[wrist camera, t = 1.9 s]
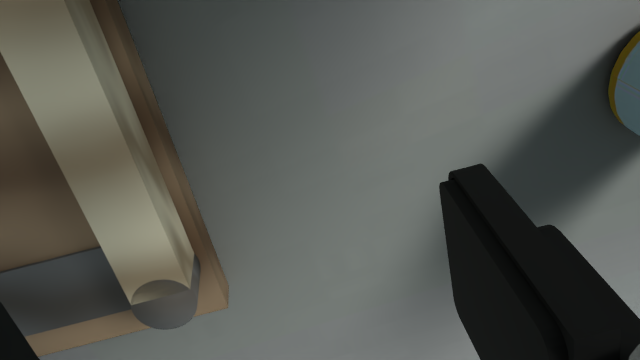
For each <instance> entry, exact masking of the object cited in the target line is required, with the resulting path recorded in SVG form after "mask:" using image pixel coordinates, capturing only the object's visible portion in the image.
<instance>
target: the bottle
mask: <svg viewBox="0 0 640 360" xmlns="http://www.w3.org/2000/svg"><path fill="white" fill-rule="evenodd" d="M608 95H609V101H610V107H611V110H612V111H613V113H614V115H615V116H616V118H617V120H618V121H619V122H620V123H622V124H623V125H625V126H626V127H627V128H628V129H630V130H631V131H633V132H634V133H636V134H637V135H639V136H640V31H639V32H638V33H637V34H636V35H635V36H634V37H633V38H632V39H631V40H630V42H629V43H628V44H627V45H626V47H625V48H624V49H623V50H622V52H621V53H620V55H619V57H618V59H617V61H616V63H615V65H614V68H613V70H612V73H611V77H610V82H609V88H608Z"/></svg>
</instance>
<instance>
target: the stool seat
mask: <svg viewBox="0 0 640 360" xmlns="http://www.w3.org/2000/svg"><path fill="white" fill-rule="evenodd" d="M89 1H90V3H91V5H92V8H93V10H94V13H95V15H96V18H97V20H98V22H99V25H100V27H101V30H102V32H103V34H104V37H105V39H106V42H107V44H108V46H109V49H110V51H111V54H112V56H113V59H114V61H115V63H116V66H117V68H118V71H119V73H120V75H121V78H122V80H123V83H124V85H125V87H126V90H127V92H128V95H129V97H130V100H131V102H132V104H133V107H134V109H135V112H136V114H137V116H138V119H139V121H140V124H141V126H142V129H143V131H144V133H145V136H146V138H147V141H148V143H149V145H150V148H151V150H152V153H153V155H154V157H155V160H156V162H157V165H158V167H159V170H160V172H161V174H162V177H163V179H164V182H165V184H166V186H167V189H168V191H169V194H170V196H171V198H172V201H173V203H174V206H175V208H176V211H177V213H178V215H179V218H180V220H181V223H182V225H183V227H184V230H185V232H186V235H187V237H188V240H189V242H190V244H191V247H192V249H193V252H194V254H195V255H196V256H197V257H198V259H199V261H200V265H201V272H200V282H199V293H198V304H197V310H196V313H195V315H194V316H193V317H195V316H198V315H202V314H206V313H210V312H214V311H218V310H222V309H226V308H228V292H229V286H228V283H227V280H226V278H225V275H224V273H223V270H222V268H221V265H220V262H219V260H218V257H217V255H216V252H215V250H214V247H213V245H212V242H211V239H210V237H209V234H208V232H207V229H206V227H205V224H204V221H203V219H202V216H201V214H200V211H199V209H198V206H197V203H196V201H195V198H194V196H193V193H192V191H191V188H190V186H189V183H188V180H187V178H186V175H185V173H184V170H183V168H182V165H181V162H180V160H179V157H178V155H177V152H176V150H175V147H174V145H173V142H172V139H171V137H170V134H169V132H168V129H167V127H166V124H165V121H164V119H163V116H162V114H161V111H160V109H159V106H158V103H157V101H156V98H155V96H154V93H153V91H152V88H151V86H150V83H149V80H148V78H147V75H146V73H145V70H144V68H143V65H142V62H141V60H140V57H139V55H138V52H137V50H136V47H135V44H134V42H133V39H132V37H131V34H130V32H129V29H128V27H127V24H126V21H125V19H124V16H123V14H122V11H121V9H120V6H119V3H118V1H117V0H89ZM0 302H1V303H2V304H3V306H4V307H5V309H6V310H7V312H8V313H9V315H10V316H11V318H12V319H13V321H14V322H15V324H16V325H17V327H18V328H19V330H20V331H21V333H22V334H23V336H24V337H25V339H26V340H27V342H28V343H29V345H30V346H31V348H32V349H33V351H34V352H35V354H36V355H37V357H39V356H43V355H47V354H51V353H54V352H58V351H62V350H66V349H70V348H74V347H78V346H82V345H86V344H89V343H93V342H97V341H101V340H105V339H109V338H113V337H117V336H121V335H124V334H128V333H132V332H136V331H140V330H144V329H148V328H152V327H149V326H146V325H145V324H143V323H141V322H140V321H139V320H138V319H137V318H136V317H135V316H134V314H133V312H132V309H131V304H130V302H129V300H128V298H127V296H126V294H125V292H124V291H123V289H122V287H121V285H120V283H119V281H118V279H117V277H116V275H115V273H114V271H113V269H112V267H111V265H110V263H109V261H108V259H107V258H106V256H105V254H104V252H103V250H102V248H101V246H100V244H99V242H98V240H97V238H96V236H95V234H94V232H93V230H92V228H91V227H90V225H89V223H88V221H87V219H86V217H85V215H84V213H83V211H82V209H81V207H80V205H79V203H78V201H77V199H76V197H75V195H74V194H73V192H72V190H71V188H70V186H69V184H68V182H67V180H66V178H65V176H64V174H63V172H62V170H61V168H60V166H59V164H58V163H57V161H56V159H55V157H54V155H53V153H52V151H51V149H50V147H49V145H48V143H47V141H46V139H45V137H44V135H43V133H42V132H41V130H40V128H39V126H38V124H37V122H36V120H35V118H34V116H33V114H32V112H31V110H30V108H29V106H28V104H27V102H26V100H25V99H24V97H23V95H22V93H21V91H20V89H19V87H18V85H17V83H16V81H15V79H14V77H13V75H12V73H11V71H10V69H9V68H8V66H7V64H6V62H5V60H4V58H3V56H2V54H1V52H0Z"/></svg>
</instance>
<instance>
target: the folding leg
mask: <svg viewBox="0 0 640 360" xmlns="http://www.w3.org/2000/svg"><path fill="white" fill-rule="evenodd" d="M0 52H1V54H2V56H3V58H4V60H5V62H6V64H7V66H8V68H9V69H10V71H11V73H12V75H13V77H14V79H15V81H16V83H17V85H18V87H19V89H20V91H21V93H22V95H23V97H24V99H25V100H26V102H27V104H28V106H29V108H30V110H31V112H32V114H33V116H34V118H35V120H36V122H37V124H38V126H39V128H40V130H41V132H42V133H43V135H44V137H45V139H46V141H47V143H48V145H49V147H50V149H51V151H52V153H53V155H54V157H55V159H56V161H57V163H58V164H59V166H60V168H61V170H62V172H63V174H64V176H65V178H66V180H67V182H68V184H69V186H70V188H71V190H72V192H73V194H74V195H75V197H76V199H77V201H78V203H79V205H80V207H81V209H82V211H83V213H84V215H85V217H86V219H87V221H88V223H89V225H90V227H91V228H92V230H93V232H94V234H95V236H96V238H97V240H98V242H99V244H100V246H101V248H102V250H103V252H104V254H105V256H106V258H107V259H108V261H109V263H110V265H111V267H112V269H113V271H114V273H115V275H116V277H117V279H118V281H119V283H120V285H121V287H122V289H123V291H124V292H125V294H126V296H127V298H128V300H129V302H130V304H131V309H132V312H133V314H134V316H135V317H136V318H137V319H138V320H139V321H140V322H141V323H143V324H145V325H146V326H149V327H152V328H155V329H174V328H177V327H180V326H182V325H184V324H186V323H187V322H189V321H190V320H191V319H192V318H193V316H194V315H195V313H196V310H197V304H198V293H199V282H200V272H201V265H200V261H199V259H198V257H197V256H196V255H195V254H194V252H193V249H192V247H191V244H190V242H189V240H188V237H187V235H186V232H185V230H184V227H183V225H182V223H181V220H180V218H179V215H178V213H177V211H176V208H175V206H174V203H173V201H172V198H171V196H170V194H169V191H168V189H167V186H166V184H165V182H164V179H163V177H162V174H161V172H160V170H159V167H158V165H157V162H156V160H155V157H154V155H153V153H152V150H151V148H150V145H149V143H148V141H147V138H146V136H145V133H144V131H143V129H142V126H141V124H140V121H139V119H138V116H137V114H136V112H135V109H134V107H133V104H132V102H131V100H130V97H129V95H128V92H127V90H126V87H125V85H124V83H123V80H122V78H121V75H120V73H119V71H118V68H117V66H116V63H115V61H114V59H113V56H112V54H111V51H110V49H109V46H108V44H107V42H106V39H105V37H104V34H103V32H102V30H101V27H100V25H99V22H98V20H97V18H96V15H95V13H94V10H93V8H92V5H91V3H90V1H89V0H0Z"/></svg>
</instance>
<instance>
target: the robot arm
mask: <svg viewBox="0 0 640 360" xmlns="http://www.w3.org/2000/svg"><path fill="white" fill-rule="evenodd" d="M448 179H449V181H445V182H441V183H440V186H439V189H440V197H441V205H442V213H443V220H444V228H445V235H446V243H447V251H448V258H449V266H450V273H451V281H452V289H453V296H454V302H455V306H456V309H457V312H458V315H459V317H460V319H461V321H462V323H463V325H464V327H465V329H466V331H467V333H468V335H469V337H470V339H471V341H472V343H473V345H474V347H475V349H476V351H477V353H478V355H479V357H480V359H481V360H640V319H639V318H638V317H637V316H636V315H635V314H634V312H633V311H632V310H631V309H630V308H629V307H628V306H627V305H626V304H625V302H624V301H623V300H622V299H621V298H620V297H619V296H618V295H617V294H616V292H615V291H614V290H613V289H612V288H611V287H610V286H609V285H608V284H607V282H606V281H605V280H604V279H603V278H602V277H601V276H600V275H599V274H598V273H597V271H596V270H595V269H594V268H593V267H592V266H591V265H590V264H589V263H588V261H587V260H586V259H585V258H584V257H583V256H582V255H581V254H580V253H579V251H578V250H577V249H576V248H575V247H574V246H573V245H572V244H571V243H570V241H569V240H568V239H567V238H566V237H565V236H564V235H563V234H562V233H561V231H559V230H558V229H557V228H556V227H555V226H552V225H545V226H541V227H536V226H535V225H534V224H533V222H532V221H531V220H530V219H529V218H528V216H527V215H526V214H525V213H524V212H523V210H522V209H521V208H520V207H519V206H518V205H517V203H516V202H515V201H514V200H513V199H512V197H511V196H510V195H509V194H508V193H507V192H506V190H505V189H504V188H503V187H502V186H501V184H500V183H499V182H498V181H497V180H496V179H495V177H494V176H493V175H492V174H491V173H490V171H489V170H488V169H487V168H486V167H485V166H484V165H483V164H478V165H474V166H470V167H466V168H462V169H458V170H454V171H451V172H450V173H449V177H448ZM0 360H40V359H39V358H38V357H37V355H36V354H35V352H34V351H33V349H32V348H31V346H30V345H29V343H28V342H27V340H26V339H25V337H24V336H23V334H22V333H21V331H20V330H19V328H18V327H17V325H16V324H15V322H14V321H13V319H12V318H11V316H10V315H9V313H8V312H7V310H6V309H5V307H4V306H3V304H2V303H1V302H0Z"/></svg>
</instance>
